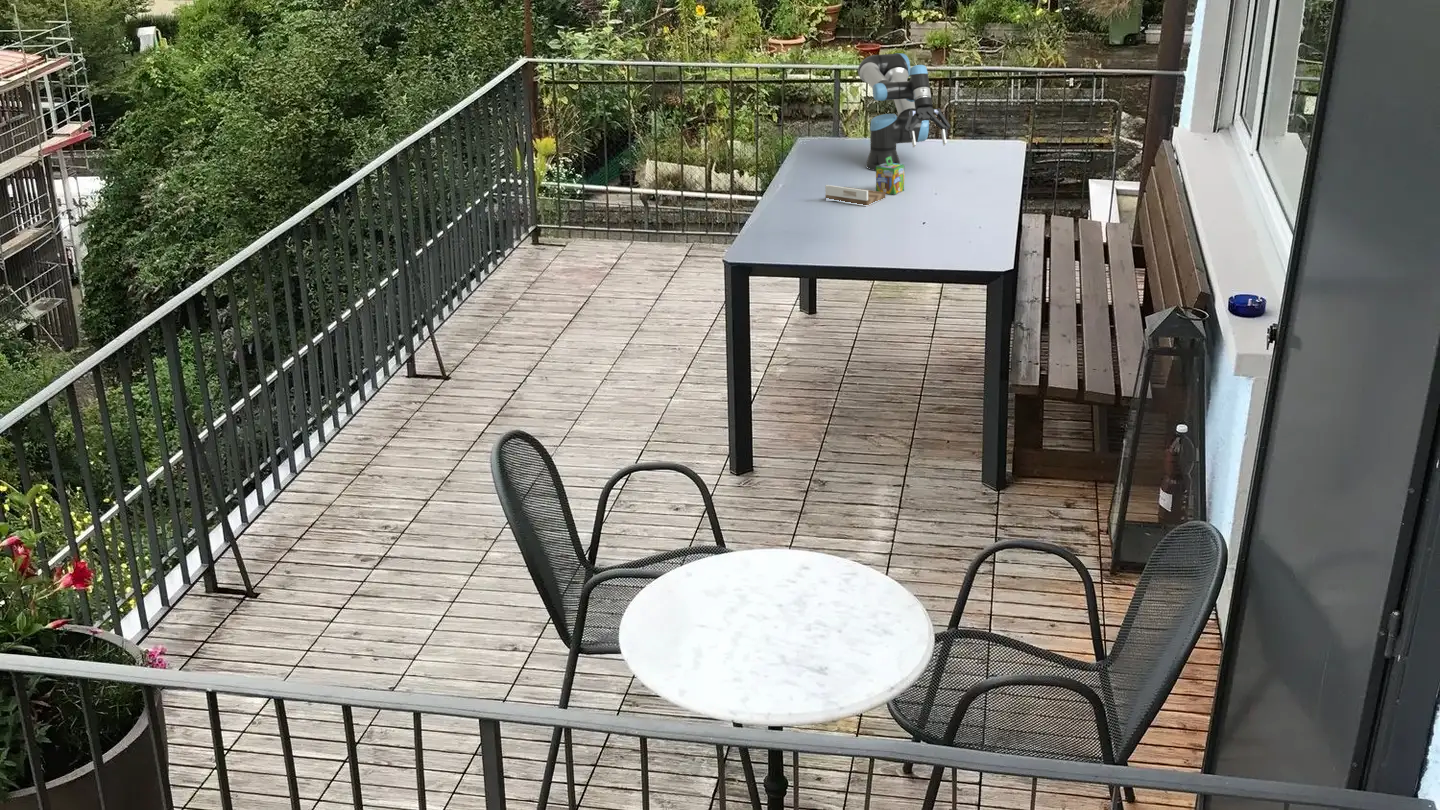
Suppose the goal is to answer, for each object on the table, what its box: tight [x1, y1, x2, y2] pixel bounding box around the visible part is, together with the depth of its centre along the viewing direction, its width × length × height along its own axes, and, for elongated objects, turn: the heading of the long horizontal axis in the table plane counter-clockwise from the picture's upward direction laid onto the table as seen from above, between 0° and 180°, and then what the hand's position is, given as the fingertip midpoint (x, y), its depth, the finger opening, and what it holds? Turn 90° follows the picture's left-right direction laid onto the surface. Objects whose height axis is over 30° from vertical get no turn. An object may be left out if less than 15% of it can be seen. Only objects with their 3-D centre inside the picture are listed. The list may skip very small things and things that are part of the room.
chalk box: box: [875, 156, 905, 196], centre depth 572 cm, size 9×9×15 cm
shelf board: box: [824, 184, 886, 206], centre depth 564 cm, size 15×20×6 cm
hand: (929, 145), depth 584 cm, fingers open, 13 cm apart
